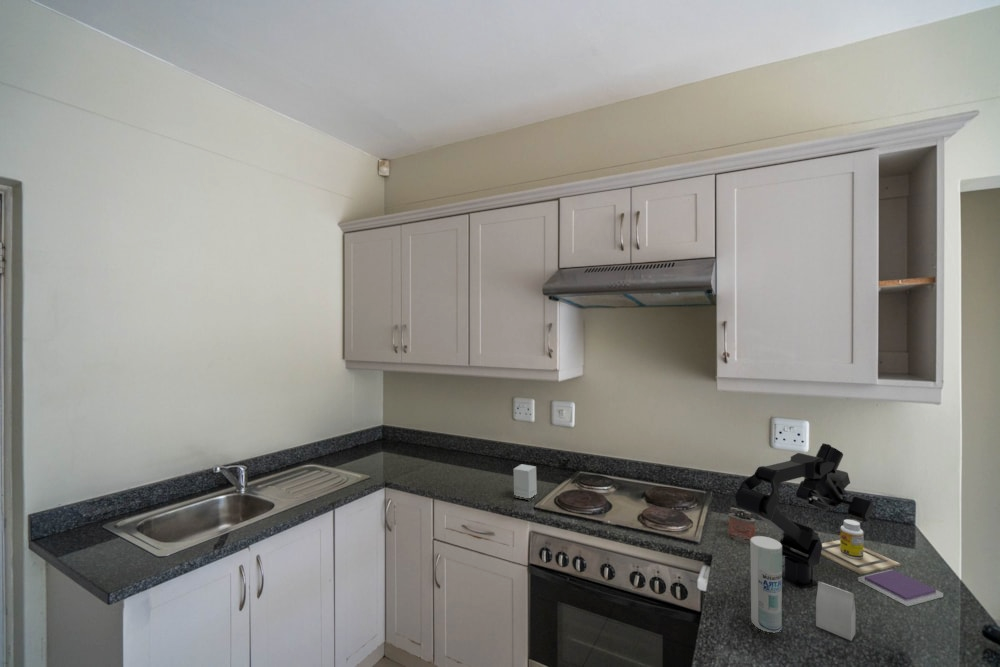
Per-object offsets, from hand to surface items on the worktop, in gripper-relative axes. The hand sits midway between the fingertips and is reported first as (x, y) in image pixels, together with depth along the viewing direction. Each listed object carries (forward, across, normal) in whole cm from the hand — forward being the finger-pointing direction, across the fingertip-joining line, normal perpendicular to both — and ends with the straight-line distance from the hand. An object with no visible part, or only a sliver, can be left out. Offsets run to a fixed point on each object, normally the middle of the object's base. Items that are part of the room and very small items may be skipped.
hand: (843, 515), depth 136 cm
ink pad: (+7, -15, +12) cm, 20 cm away
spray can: (-25, -8, +44) cm, 51 cm away
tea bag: (-16, -16, +35) cm, 42 cm away
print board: (+13, 0, +6) cm, 14 cm away
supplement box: (-33, +89, +52) cm, 108 cm away
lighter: (-1, +23, +20) cm, 30 cm away
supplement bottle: (+12, 0, +6) cm, 14 cm away
